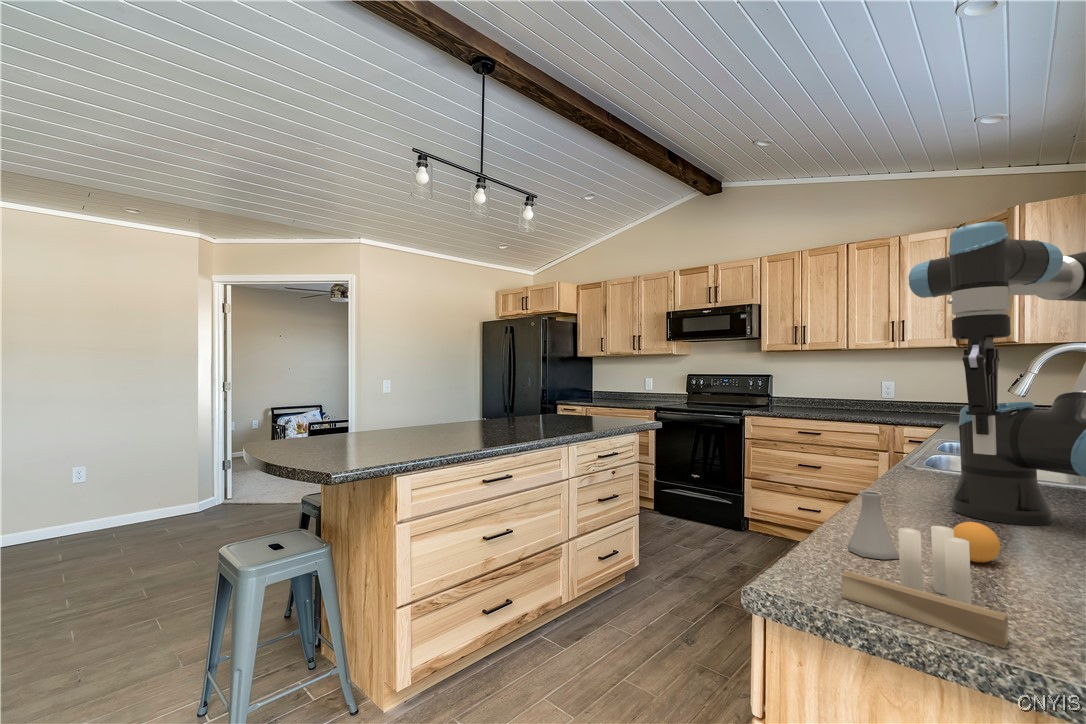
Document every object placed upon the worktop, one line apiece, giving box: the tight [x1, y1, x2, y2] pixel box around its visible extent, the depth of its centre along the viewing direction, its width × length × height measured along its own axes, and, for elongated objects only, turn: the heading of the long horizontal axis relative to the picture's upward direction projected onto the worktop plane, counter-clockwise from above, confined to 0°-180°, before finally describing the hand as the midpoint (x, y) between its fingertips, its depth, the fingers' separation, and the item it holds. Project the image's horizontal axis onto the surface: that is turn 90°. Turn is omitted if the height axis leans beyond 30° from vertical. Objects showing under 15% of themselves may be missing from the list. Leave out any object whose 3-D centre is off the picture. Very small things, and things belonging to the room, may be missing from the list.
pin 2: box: [945, 537, 972, 605], centre depth 63 cm, size 2×2×8 cm
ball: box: [952, 521, 1001, 563], centre depth 78 cm, size 6×6×6 cm
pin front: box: [930, 525, 954, 596], centre depth 68 cm, size 2×2×8 cm
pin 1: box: [898, 527, 924, 592], centre depth 67 cm, size 2×2×8 cm
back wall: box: [841, 570, 1009, 649], centre depth 60 cm, size 2×16×3 cm, turn 38°
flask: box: [847, 490, 900, 560], centre depth 82 cm, size 7×7×10 cm
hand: (984, 453), depth 84 cm, fingers closed
